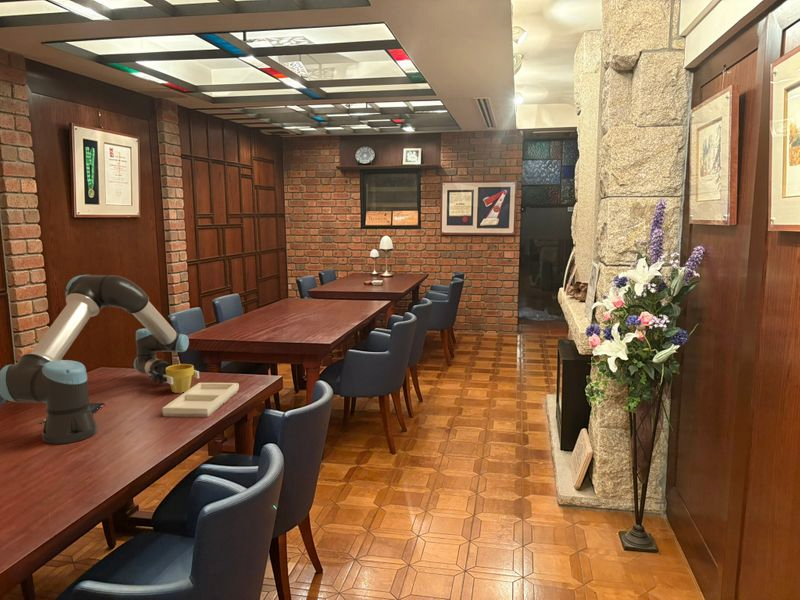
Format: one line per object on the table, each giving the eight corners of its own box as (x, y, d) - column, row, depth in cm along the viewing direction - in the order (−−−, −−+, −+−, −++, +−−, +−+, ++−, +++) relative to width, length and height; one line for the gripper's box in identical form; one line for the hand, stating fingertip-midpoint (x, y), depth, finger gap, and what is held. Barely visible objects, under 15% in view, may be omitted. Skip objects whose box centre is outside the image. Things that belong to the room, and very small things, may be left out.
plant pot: (175, 386, 233) (174, 363, 231) (199, 387, 231) (198, 364, 230) (161, 394, 223) (160, 369, 221) (186, 395, 221) (185, 370, 220)
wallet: (83, 418, 192) (36, 420, 190) (84, 424, 192) (36, 426, 191) (108, 400, 211) (65, 401, 210) (108, 405, 212) (66, 406, 210)
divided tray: (207, 416, 196) (207, 408, 196) (162, 416, 197) (162, 407, 197) (238, 390, 227) (238, 383, 227) (199, 389, 228) (199, 382, 228)
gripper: (184, 371, 247) (212, 380, 233) (131, 383, 230) (157, 394, 215) (183, 354, 246) (211, 363, 232) (130, 365, 229) (156, 374, 214)
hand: (185, 377), depth 223 cm, fingers closed on plant pot, 10 cm apart
